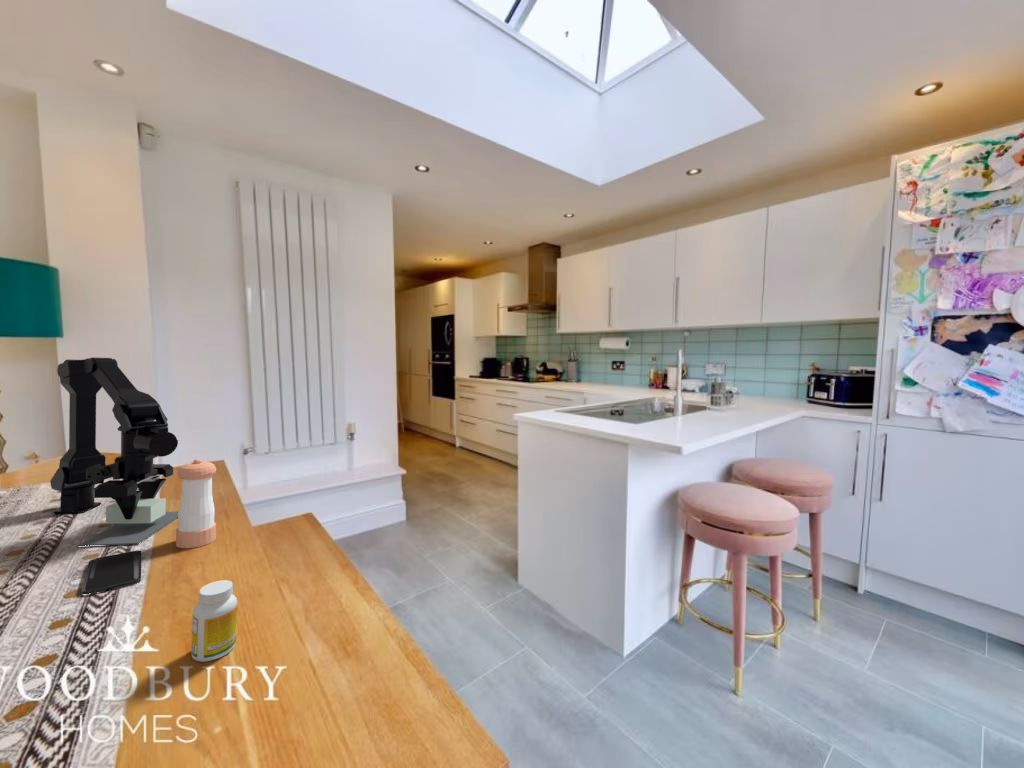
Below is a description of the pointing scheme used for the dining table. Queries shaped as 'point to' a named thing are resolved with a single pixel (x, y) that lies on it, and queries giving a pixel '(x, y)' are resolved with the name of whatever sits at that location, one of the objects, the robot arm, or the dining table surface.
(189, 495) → the pepper shaker
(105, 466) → the robot arm
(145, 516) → the card case
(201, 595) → the supplement bottle
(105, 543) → the rubber mat
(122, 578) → the phone
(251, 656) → the dining table surface
